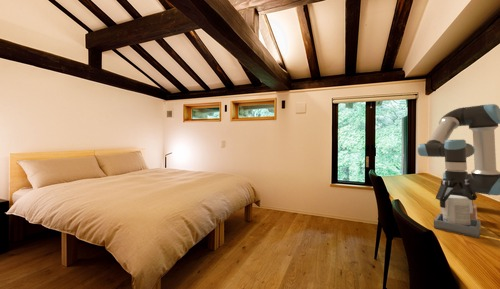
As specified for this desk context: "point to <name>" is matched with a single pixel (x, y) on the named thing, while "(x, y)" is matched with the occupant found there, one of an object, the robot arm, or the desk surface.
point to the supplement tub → (458, 210)
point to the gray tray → (458, 227)
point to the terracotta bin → (474, 212)
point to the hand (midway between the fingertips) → (456, 213)
